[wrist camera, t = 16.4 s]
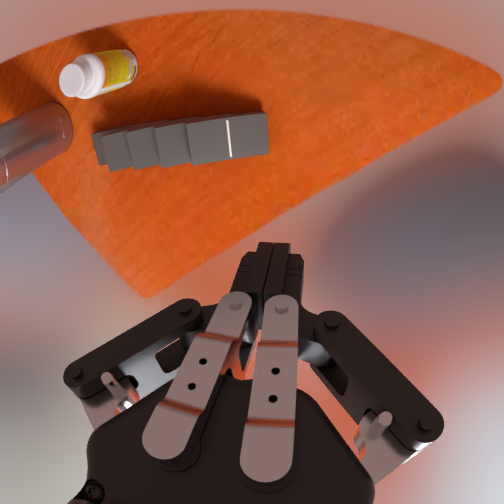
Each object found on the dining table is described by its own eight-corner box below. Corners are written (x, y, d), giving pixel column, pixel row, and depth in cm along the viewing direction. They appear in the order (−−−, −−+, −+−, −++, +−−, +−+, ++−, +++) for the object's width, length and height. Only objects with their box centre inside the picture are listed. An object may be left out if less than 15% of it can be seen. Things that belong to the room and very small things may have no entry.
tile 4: (175, 153, 39) (112, 168, 37) (169, 118, 36) (104, 134, 34) (175, 157, 37) (109, 172, 36) (168, 120, 34) (101, 137, 33)
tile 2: (233, 151, 37) (162, 163, 36) (229, 113, 34) (155, 125, 33) (235, 154, 36) (161, 168, 34) (231, 115, 33) (154, 128, 31)
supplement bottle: (126, 40, 29) (73, 46, 21) (146, 70, 32) (97, 82, 24) (99, 66, 32) (47, 79, 24) (118, 94, 34) (69, 113, 26)
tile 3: (203, 152, 38) (136, 165, 37) (198, 115, 35) (128, 130, 34) (204, 155, 36) (134, 170, 35) (199, 117, 33) (126, 132, 32)
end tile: (154, 155, 39) (105, 161, 41) (148, 121, 36) (98, 130, 38) (149, 159, 38) (99, 165, 40) (142, 125, 35) (91, 134, 37)
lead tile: (265, 150, 36) (192, 161, 35) (262, 110, 33) (185, 121, 32) (269, 153, 35) (192, 165, 34) (266, 113, 32) (186, 124, 31)
